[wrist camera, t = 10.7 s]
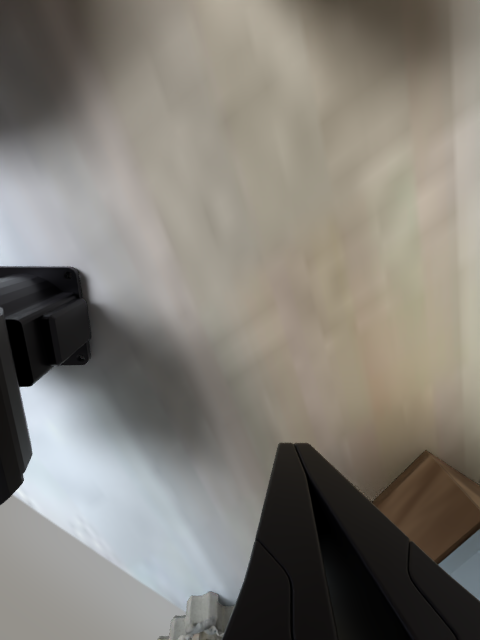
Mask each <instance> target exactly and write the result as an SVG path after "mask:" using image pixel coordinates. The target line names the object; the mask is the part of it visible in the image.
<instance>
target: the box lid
mask: <svg viewBox="0 0 480 640" xmlns="http://www.w3.org/2000/svg"><path fill="white" fill-rule="evenodd" d="M438 565H439V566H440V567H441V568H442V569H443V570H444V571H446V572H447V573H448V574H449V575H450V576H451V577H452V578H453V579H455V580H456V581H457V582H458V583H459V584H460V585H462V586H463V587H464V588H465V589H466V590H468V591H469V592H470V593H471V594H472V595H473V596H475V597H476V598H477V599H478V600H479V601H480V529H479V530H478V531H477V532H476V533H475V534H473V535H472V536H471V537H470V538H469V539H468V540H466V541H465V542H464V543H463V544H462V545H461V546H459V547H458V548H457V549H456V550H455V551H454V552H452V553H451V554H450V555H449V556H448V557H447V558H445V559H444V560H443V561H442V562H441V563H440V564H438Z"/></svg>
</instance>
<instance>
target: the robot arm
mask: <svg viewBox="0 0 480 640" xmlns="http://www.w3.org/2000/svg"><path fill="white" fill-rule="evenodd" d="M67 272H70V273H71V274H72V278H69V277H68V276H67ZM90 338H91V331H90V324H89V316H88V309H87V302H86V301H85V300H84V299H83V297H82V290H81V283H80V276H79V273H78V271H77V270H76V269H75V268H74V267H45V266H0V505H1V504H2V503H4V502H5V501H6V500H7V499H8V498H10V496H11V495H12V494H13V493H14V492H15V491H16V490H17V489H18V488H19V487H20V485H21V484H22V483H23V481H24V478H23V473H24V472H25V470H26V468H27V466H28V463H29V461H30V459H31V456H32V448H31V441H30V436H29V431H28V426H27V422H26V417H25V412H24V407H23V402H22V398H21V393H20V388H19V387H29V386H32V385H33V384H34V383H35V382H36V381H38V380H39V379H40V378H41V377H42V376H44V375H45V374H46V373H47V372H48V371H49V370H51V369H52V368H53V367H54V366H59V365H84V364H86V363H87V362H88V361H89V360H90V358H91V353H90V346H89V339H90ZM79 355H83V356H84V358H85V359H82V358H80V356H79ZM409 541H410V539H409V537H408V536H406V535H405V534H404V533H403V532H402V531H401V530H400V529H399V528H398V527H397V526H396V525H395V524H394V523H393V522H392V521H391V520H390V519H388V518H387V517H386V516H385V515H384V514H383V513H382V512H381V511H380V510H379V509H378V508H377V507H376V506H375V505H374V504H373V503H371V502H370V501H369V500H368V499H367V498H366V497H365V496H364V495H363V494H362V493H361V492H360V491H359V490H358V489H357V488H356V487H355V486H353V485H352V484H351V483H350V482H349V481H348V480H347V479H346V478H345V477H344V476H343V475H342V474H341V473H340V472H339V471H338V470H336V469H335V468H334V467H333V466H332V465H331V464H330V463H329V462H328V461H327V460H326V459H325V458H324V457H323V456H322V455H321V454H319V453H318V452H317V451H316V450H315V449H314V448H313V447H312V446H311V445H310V444H308V443H295V444H292V443H279V444H278V448H277V452H276V456H275V460H274V464H273V468H272V472H271V477H270V481H269V485H268V489H267V493H266V497H265V501H264V505H263V509H262V513H261V518H260V522H259V526H258V530H257V534H256V538H255V542H254V545H253V549H252V554H251V558H250V561H249V565H248V568H247V572H246V575H245V579H244V582H243V585H242V587H241V590H240V593H239V596H238V599H237V601H236V604H235V607H234V609H233V612H232V614H231V617H230V619H229V622H228V624H227V627H226V630H225V632H224V635H223V637H222V640H480V601H479V600H478V599H477V598H476V597H475V596H473V595H472V594H471V593H470V592H469V591H468V590H466V589H465V588H464V587H463V586H462V585H460V584H459V583H458V582H457V581H456V580H455V579H453V578H452V577H451V576H450V575H449V574H448V573H447V572H446V571H444V570H443V569H442V568H441V567H440V566H439V565H438V564H437V563H436V562H435V561H433V560H432V559H431V558H430V557H429V556H428V555H427V554H426V553H425V552H424V551H423V550H422V549H420V548H419V547H418V546H417V545H416V544H415V543H414V542H413V541H410V542H409Z"/></svg>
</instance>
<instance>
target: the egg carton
mask: <svg viewBox="0 0 480 640" xmlns="http://www.w3.org/2000/svg"><path fill="white" fill-rule="evenodd" d="M234 607H235V605H234V606H223V605H221V604H220V603H219V602H218V594H216V593H213V592H208V593H206V594H204V595H202V596H193V595H192V596H191V597H190V598H189V599H188V601H187V608H186V615H183V616H177V615H176V616H174V617H173V619H172V620H171V625H170V633H169V636H159V638H158V639H157V640H222V637H223V635H224V632H225V630H226V627H227V624H228V622H229V619H230V617H231V614H232V612H233V609H234Z"/></svg>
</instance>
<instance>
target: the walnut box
mask: <svg viewBox="0 0 480 640" xmlns="http://www.w3.org/2000/svg"><path fill="white" fill-rule="evenodd" d="M372 503H373V504H374V505H375V506H376V507H377V508H378V509H379V510H380V511H381V512H382V513H383V514H384V515H385V516H386V517H387V518H388V519H390V520H391V521H392V522H393V523H394V524H395V525H396V526H397V527H398V528H399V529H400V530H401V531H402V532H403V533H404V534H405V535H406V536H408V537H409V539H410V541H413V542H414V543H415V544H416V545H417V546H418V547H419V548H420V549H422V550H423V551H424V552H425V553H426V554H427V555H428V556H429V557H430V558H431V559H432V560H433V561H435V562H436V563H437V564H440V563H441V562H442V561H443V560H444V559H445V558H447V557H448V556H449V555H450V554H451V553H452V552H454V551H455V550H456V549H457V548H458V547H459V546H461V545H462V544H463V543H464V542H465V541H466V540H468V539H469V538H470V537H471V536H472V535H473V534H475V533H476V532H477V531H478V530H479V529H480V486H479V485H478V484H476V483H475V482H473V481H472V480H470V479H469V478H467V477H466V476H464V475H463V474H461V473H460V472H458V471H457V470H455V469H454V468H452V467H451V466H449V465H448V464H446V463H445V462H443V461H442V460H440V459H439V458H437V457H436V456H434V455H433V454H431V453H430V452H428V451H427V450H425V451H424V452H423V453H422V454H421V455H420V456H419V457H418V458H417V459H416V460H415V461H414V462H413V463H412V464H411V465H410V466H409V467H408V468H407V469H406V470H405V471H404V472H403V473H402V474H401V475H400V476H399V477H398V478H397V479H396V480H395V481H394V482H393V483H392V484H391V485H389V486H388V487H387V488H386V489H385V490H384V491H383V492H382V493H381V494H380V495H379V496H378V497H377V498H376V499H375V500H374V501H373V502H372ZM410 541H409V542H410Z"/></svg>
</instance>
